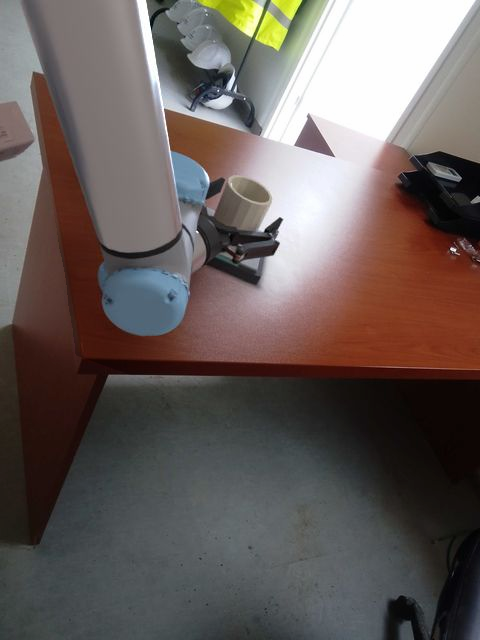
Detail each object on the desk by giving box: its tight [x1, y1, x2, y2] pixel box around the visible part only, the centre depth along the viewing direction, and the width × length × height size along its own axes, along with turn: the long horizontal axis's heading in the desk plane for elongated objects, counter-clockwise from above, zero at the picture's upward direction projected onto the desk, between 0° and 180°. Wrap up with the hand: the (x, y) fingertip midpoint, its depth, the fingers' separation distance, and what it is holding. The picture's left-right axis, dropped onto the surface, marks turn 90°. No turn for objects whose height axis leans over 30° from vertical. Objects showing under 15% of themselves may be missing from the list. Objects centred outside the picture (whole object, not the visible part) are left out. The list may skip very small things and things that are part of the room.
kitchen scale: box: [205, 205, 266, 286], centre depth 85 cm, size 15×15×2 cm
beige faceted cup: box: [213, 174, 273, 235], centre depth 81 cm, size 8×8×10 cm
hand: (249, 204), depth 83 cm, fingers open, 12 cm apart
